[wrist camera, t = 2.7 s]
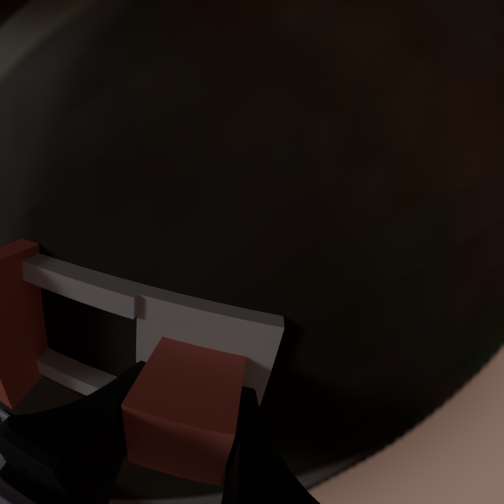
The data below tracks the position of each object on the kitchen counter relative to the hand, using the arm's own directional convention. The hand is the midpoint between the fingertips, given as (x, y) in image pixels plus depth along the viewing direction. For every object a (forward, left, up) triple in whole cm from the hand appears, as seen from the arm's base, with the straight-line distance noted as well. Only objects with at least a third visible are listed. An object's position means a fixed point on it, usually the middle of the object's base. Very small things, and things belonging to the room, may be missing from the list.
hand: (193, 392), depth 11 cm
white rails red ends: (0, +4, -2) cm, 4 cm away
